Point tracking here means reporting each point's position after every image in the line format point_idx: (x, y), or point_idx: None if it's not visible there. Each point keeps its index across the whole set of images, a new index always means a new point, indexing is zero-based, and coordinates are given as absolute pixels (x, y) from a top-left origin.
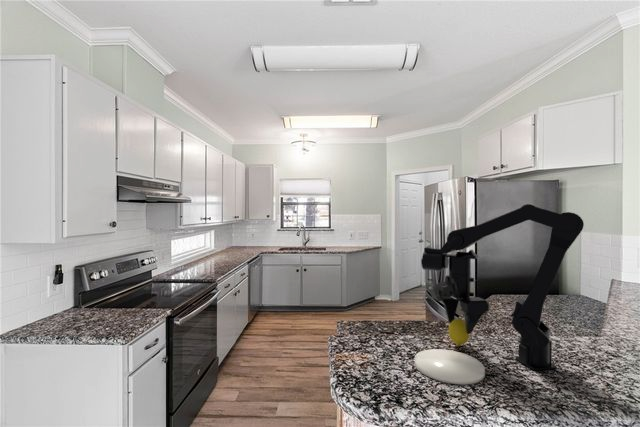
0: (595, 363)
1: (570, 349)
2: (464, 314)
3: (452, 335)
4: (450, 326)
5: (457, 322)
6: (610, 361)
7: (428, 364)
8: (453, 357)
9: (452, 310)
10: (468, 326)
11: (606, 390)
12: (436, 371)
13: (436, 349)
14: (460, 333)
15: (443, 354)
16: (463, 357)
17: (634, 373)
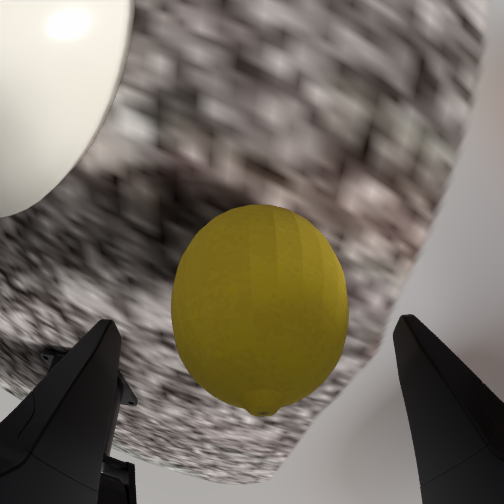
0: (134, 441)
1: (207, 452)
2: (14, 461)
3: (224, 223)
4: (269, 274)
5: (218, 362)
6: (150, 454)
7: None
8: (3, 99)
9: (428, 429)
10: (59, 370)
11: (13, 384)
12: None
13: (115, 13)
14: (173, 287)
15: (37, 45)
16: (12, 159)
17: None
